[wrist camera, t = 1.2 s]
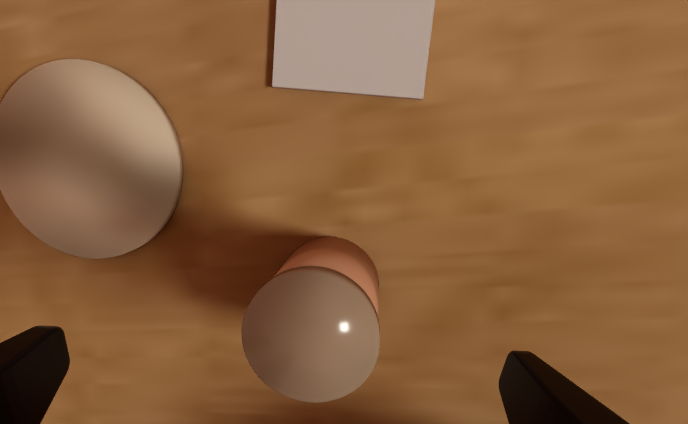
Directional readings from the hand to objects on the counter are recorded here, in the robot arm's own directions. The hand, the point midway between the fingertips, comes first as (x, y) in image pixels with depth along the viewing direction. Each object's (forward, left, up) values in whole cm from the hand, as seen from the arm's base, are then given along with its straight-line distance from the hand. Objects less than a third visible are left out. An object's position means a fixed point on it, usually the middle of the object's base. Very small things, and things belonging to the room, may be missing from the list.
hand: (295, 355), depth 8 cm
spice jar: (-3, +1, -12) cm, 12 cm away
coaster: (+2, +14, -12) cm, 18 cm away
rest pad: (+10, +1, -12) cm, 15 cm away
